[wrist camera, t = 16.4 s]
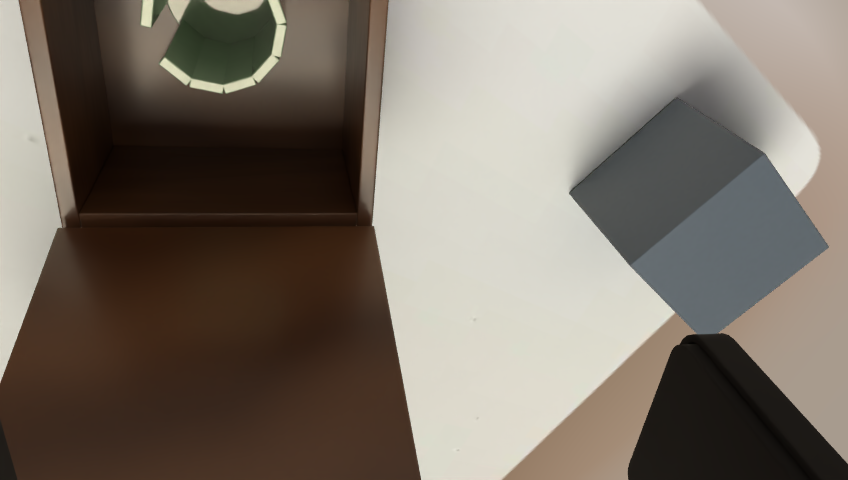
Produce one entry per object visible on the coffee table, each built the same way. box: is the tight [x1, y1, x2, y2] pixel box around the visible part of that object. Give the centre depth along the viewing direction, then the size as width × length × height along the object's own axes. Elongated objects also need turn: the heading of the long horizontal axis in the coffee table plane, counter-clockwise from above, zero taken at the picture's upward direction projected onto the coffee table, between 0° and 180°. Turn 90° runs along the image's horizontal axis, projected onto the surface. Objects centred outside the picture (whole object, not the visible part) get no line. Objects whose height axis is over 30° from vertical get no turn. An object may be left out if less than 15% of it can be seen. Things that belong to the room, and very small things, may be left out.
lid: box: [0, 226, 421, 480], centre depth 23 cm, size 14×12×4 cm
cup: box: [140, 0, 287, 94], centre depth 27 cm, size 5×5×6 cm
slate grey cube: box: [569, 98, 829, 334], centre depth 37 cm, size 8×8×8 cm
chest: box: [19, 0, 389, 228], centre depth 28 cm, size 13×12×8 cm
